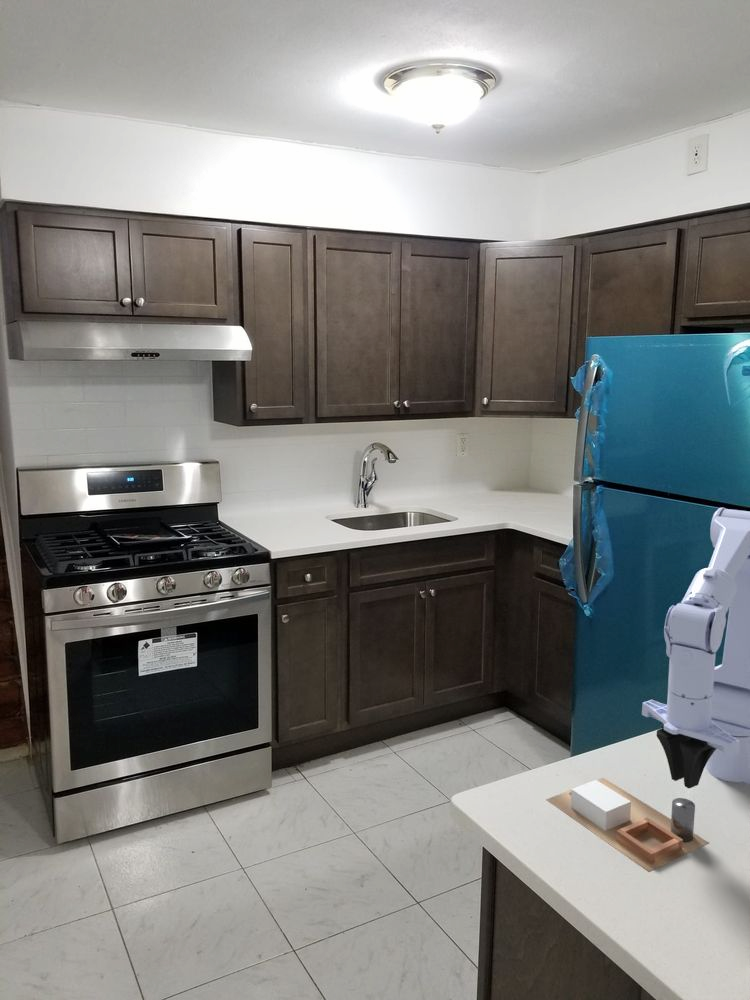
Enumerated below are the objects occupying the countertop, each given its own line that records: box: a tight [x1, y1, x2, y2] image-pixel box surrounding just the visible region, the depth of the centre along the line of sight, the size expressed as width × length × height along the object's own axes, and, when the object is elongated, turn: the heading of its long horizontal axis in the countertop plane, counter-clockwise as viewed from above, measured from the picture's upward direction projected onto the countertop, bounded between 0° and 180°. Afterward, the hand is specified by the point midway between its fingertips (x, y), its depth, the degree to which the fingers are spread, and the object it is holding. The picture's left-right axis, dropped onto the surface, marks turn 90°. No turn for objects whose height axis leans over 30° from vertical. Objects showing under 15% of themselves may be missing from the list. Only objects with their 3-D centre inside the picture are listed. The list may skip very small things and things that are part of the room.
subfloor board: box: [546, 777, 710, 873], centre depth 117 cm, size 12×20×2 cm, turn 30°
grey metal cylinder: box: [670, 797, 696, 843], centre depth 112 cm, size 3×3×5 cm
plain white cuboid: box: [570, 779, 631, 831], centre depth 118 cm, size 5×7×3 cm
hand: (684, 781), depth 111 cm, fingers closed
